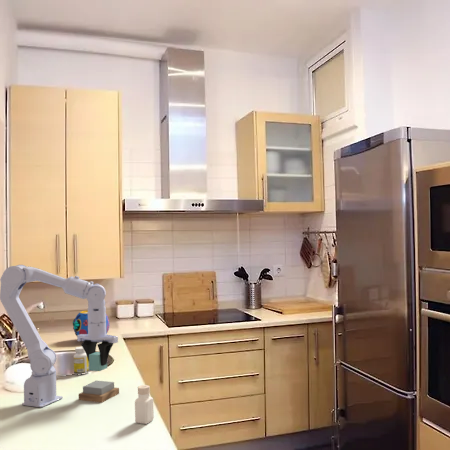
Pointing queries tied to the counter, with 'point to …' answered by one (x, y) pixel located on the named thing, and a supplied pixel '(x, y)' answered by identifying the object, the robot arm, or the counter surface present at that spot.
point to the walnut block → (99, 396)
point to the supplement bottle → (80, 361)
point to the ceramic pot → (84, 323)
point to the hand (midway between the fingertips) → (97, 364)
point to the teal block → (95, 362)
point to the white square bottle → (144, 405)
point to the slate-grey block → (98, 387)
